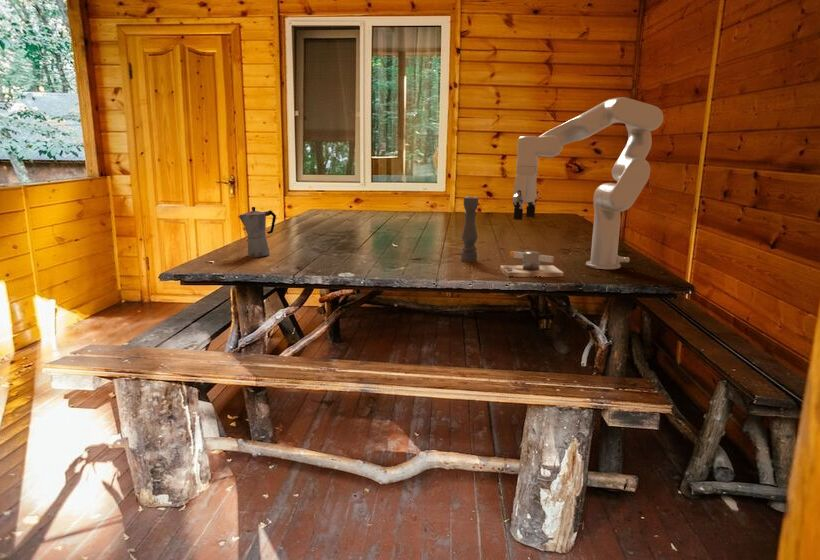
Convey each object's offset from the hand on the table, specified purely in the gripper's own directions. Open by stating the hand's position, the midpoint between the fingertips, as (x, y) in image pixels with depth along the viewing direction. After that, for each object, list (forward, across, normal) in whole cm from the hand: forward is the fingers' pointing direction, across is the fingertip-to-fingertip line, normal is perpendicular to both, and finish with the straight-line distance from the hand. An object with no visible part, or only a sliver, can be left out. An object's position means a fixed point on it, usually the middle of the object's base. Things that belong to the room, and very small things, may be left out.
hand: (524, 218), depth 208 cm
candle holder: (+19, +1, -23) cm, 30 cm away
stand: (+19, +6, +6) cm, 21 cm away
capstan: (+17, +5, +6) cm, 19 cm away
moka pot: (+19, +49, -94) cm, 107 cm away
